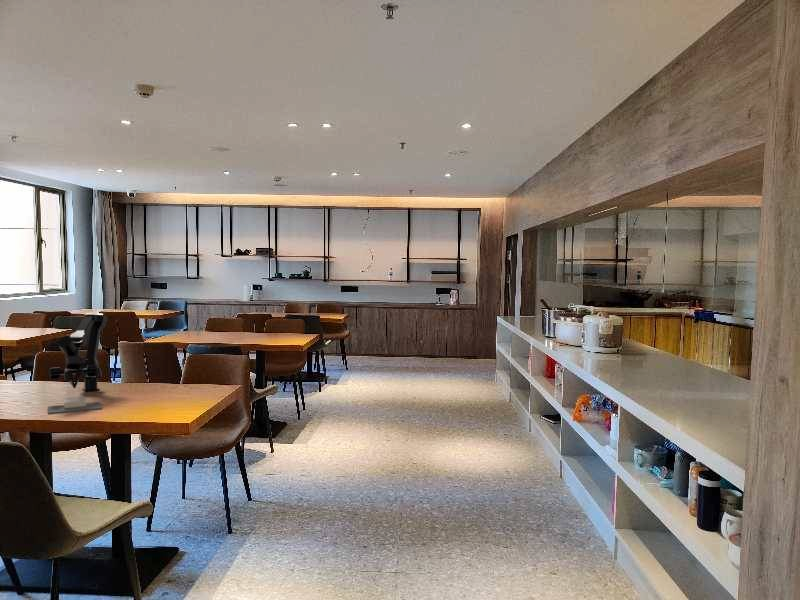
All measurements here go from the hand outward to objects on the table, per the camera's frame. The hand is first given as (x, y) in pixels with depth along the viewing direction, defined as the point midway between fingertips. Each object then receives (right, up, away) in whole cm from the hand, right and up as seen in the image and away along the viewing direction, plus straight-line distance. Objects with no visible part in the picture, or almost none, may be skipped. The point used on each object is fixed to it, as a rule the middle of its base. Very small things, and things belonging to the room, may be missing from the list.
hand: (74, 387), depth 257 cm
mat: (+5, -8, -9) cm, 13 cm away
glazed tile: (+1, -5, -2) cm, 6 cm away
